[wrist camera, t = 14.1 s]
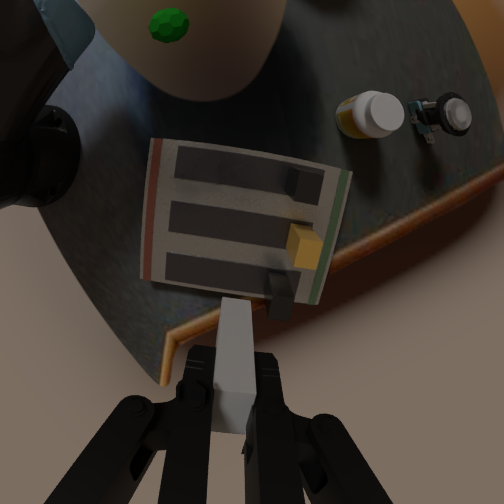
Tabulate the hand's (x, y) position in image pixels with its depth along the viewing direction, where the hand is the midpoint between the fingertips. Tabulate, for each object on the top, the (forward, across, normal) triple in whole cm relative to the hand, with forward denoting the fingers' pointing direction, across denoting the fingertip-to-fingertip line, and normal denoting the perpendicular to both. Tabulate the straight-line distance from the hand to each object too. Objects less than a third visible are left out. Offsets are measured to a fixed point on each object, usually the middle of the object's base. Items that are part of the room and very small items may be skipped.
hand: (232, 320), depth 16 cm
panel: (+23, 0, 0) cm, 23 cm away
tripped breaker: (+20, +7, 0) cm, 21 cm away
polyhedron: (+24, -13, +24) cm, 36 cm away
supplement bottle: (+23, +12, +16) cm, 31 cm away
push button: (+23, +22, +19) cm, 37 cm away
